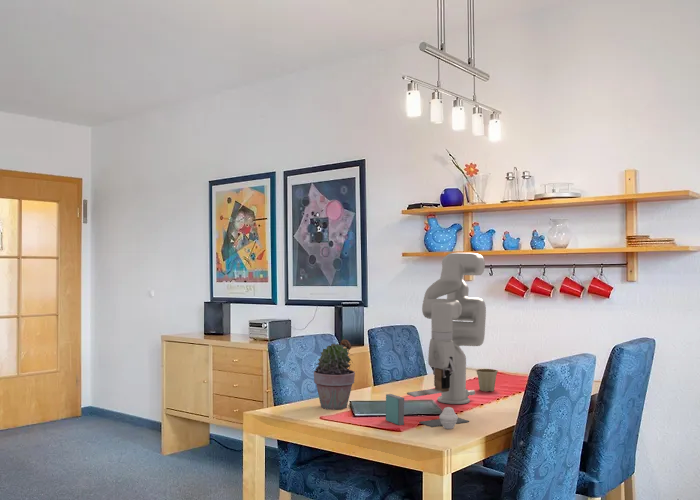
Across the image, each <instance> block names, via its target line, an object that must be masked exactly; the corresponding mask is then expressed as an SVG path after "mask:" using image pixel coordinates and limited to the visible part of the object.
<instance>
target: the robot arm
mask: <svg viewBox="0 0 700 500" xmlns="http://www.w3.org/2000/svg"><path fill="white" fill-rule="evenodd" d="M441 267H442V268H441V273H440V278H439V279H437V280H436V281H435V282H433V283H432V284H431V285H430V286H429V287H427V289H426V290H425V292H424V293H425V294H424V297H423V300H422V307H421V311H422V312H421V313H422V315H423V317H424V318H426V319H430V320H431V328H430V329H431V331H430V332H431V333H430V334H431V335H430V336H431V338H430V341H429V345H428V358H427V360H428V362H427V363H428V365H429V367H430V368H431V370H432V372H433V376H434V377H433V379H434V380H433V382H434V383H433V385H434V387H435V368H438V369H442V372H443V377H442V389H446V388H449V391H447V392H442V393H440V394H441V395H440V396H438V397H437V399H436V400H437V402H439V403H442V404H448V405H464V404H468V403H470V402H471V401H470V400H471V399H470V398H469V396H474V395H476V390H475V389H471V390H469V389H466V387H467V386H466V385H467V382H466V381H467V357H466V354H465V352H464V350H463V349H462V348H461V347H481V346H482V345H483V343H484V342H485V334H486V317H487V307H486V306H487V305H486V303H485V300H484V299H482V298H480V297H471V296H470V297H469V291H470V290H469V285H468V284H467V283H466V282H465V280H464V279H463V277H464V276H481V275H483V273H484V271H485V269H486V268H485V267H486V262H485V258H484V257H483V255H482V254H479V253H476V252H451V253H448V254H447V255H445V256H444V257H443V258H442V260H441ZM444 296H446V298H440V297H444ZM446 370H447V372H446Z"/></svg>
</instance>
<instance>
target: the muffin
mask: <svg viewBox="0 0 700 500" xmlns="http://www.w3.org/2000/svg"><path fill="white" fill-rule="evenodd" d="M438 417H439V418H438V419H440V421H441V423H442V425H443V426H442V427H443V429H445V430H452V429H454V427H455V426H456V425H457V424H456V422H457V419H458V418H459V417H458V415H457V413H456V412H455V410H454V408H453V407H450V406H447V407H446V406H445V407H444V408H443V409H442V412H441V413H440V414H439V416H438Z"/></svg>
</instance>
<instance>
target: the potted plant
mask: <svg viewBox="0 0 700 500" xmlns="http://www.w3.org/2000/svg"><path fill="white" fill-rule="evenodd" d="M330 344H331V345H326V348H323V349H322V351H321V352H320V354H321V355H320V358H318V360H315V361H316V362H317V361H318V362H317V363H316V364H315V366H316V367H315V369H314V370H313V381H314V384H315V385H316V390H317V394H318V399H319V403H320V408H322V409H325V410H333V411H335V410H337V411H338V410H344V409H347V407H348V403H349V399H350V396H351V391H352V386H353V384H355V376H356V373H355V372H356V371H354V370H352V369H351V366H352V364H354V363H353V361H352V360H351V358H350V357H351V356H353V354H352V353H350V352H349V351H350V350H351V349H352V345H351V342H350V341H349V340H348V339H342V340H341V342H339V343H334V342H331V343H330ZM344 347H345V348H344ZM349 354H350V355H349ZM350 361H351V362H350ZM351 363H352V364H351ZM317 365H318V366H317Z"/></svg>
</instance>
